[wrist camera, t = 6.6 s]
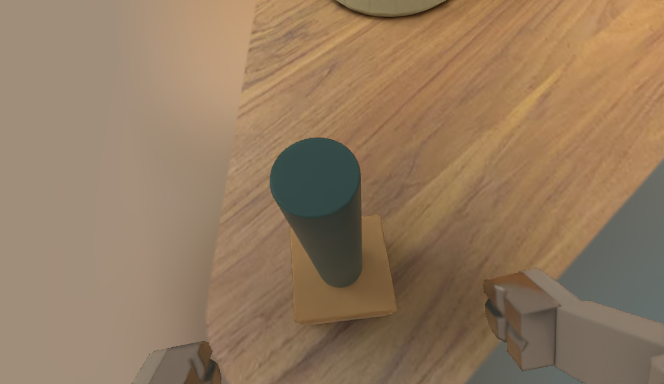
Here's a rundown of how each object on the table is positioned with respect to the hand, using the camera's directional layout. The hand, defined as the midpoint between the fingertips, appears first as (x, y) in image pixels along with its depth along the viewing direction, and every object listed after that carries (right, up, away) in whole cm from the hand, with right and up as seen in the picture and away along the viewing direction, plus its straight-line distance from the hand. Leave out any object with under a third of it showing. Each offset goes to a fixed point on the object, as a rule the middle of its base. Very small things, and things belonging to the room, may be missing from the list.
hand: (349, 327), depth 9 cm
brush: (0, -2, +12) cm, 12 cm away
